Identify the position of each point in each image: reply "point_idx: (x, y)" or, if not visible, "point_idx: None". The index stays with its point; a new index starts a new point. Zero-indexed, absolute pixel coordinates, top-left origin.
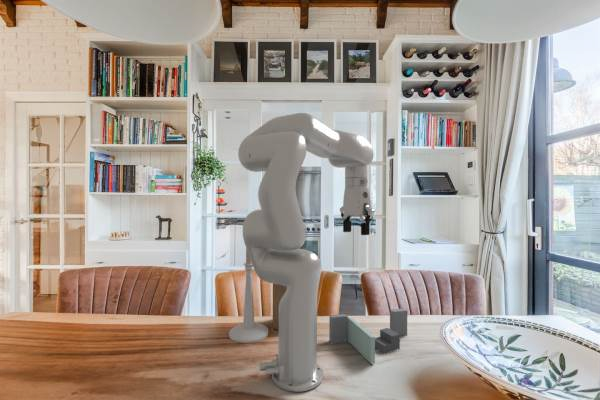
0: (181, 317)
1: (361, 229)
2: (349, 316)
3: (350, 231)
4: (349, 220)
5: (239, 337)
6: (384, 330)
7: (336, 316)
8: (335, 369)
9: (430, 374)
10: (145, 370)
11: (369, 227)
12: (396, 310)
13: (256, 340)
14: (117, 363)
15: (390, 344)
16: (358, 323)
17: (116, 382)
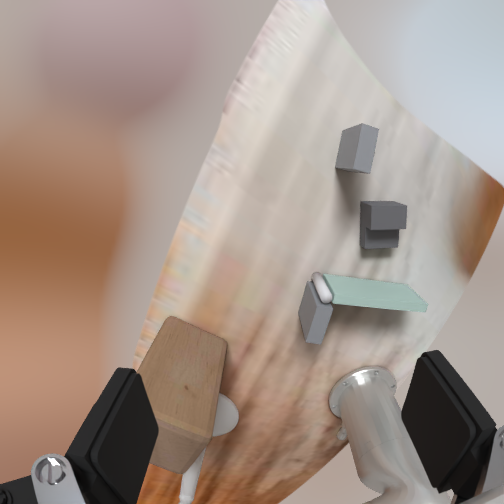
0: None
1: (424, 447)
2: (326, 295)
3: (141, 379)
4: (67, 460)
5: (226, 432)
6: (378, 223)
7: (320, 331)
8: (380, 345)
9: (462, 221)
10: (256, 489)
11: (470, 390)
12: (366, 156)
13: (238, 413)
14: (229, 499)
15: (398, 230)
16: (369, 299)
17: (266, 498)
